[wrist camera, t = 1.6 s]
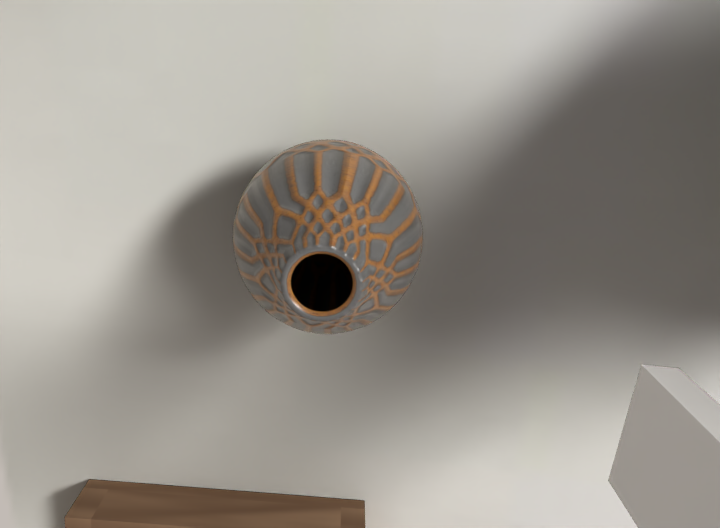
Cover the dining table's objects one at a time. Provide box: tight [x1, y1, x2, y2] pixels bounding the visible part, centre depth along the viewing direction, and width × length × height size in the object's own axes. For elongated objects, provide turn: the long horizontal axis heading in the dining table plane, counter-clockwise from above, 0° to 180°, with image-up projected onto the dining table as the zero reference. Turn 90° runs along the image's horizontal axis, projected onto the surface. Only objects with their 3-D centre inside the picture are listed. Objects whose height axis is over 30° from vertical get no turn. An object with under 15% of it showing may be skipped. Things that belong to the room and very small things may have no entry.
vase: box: [233, 140, 423, 334], centre depth 21 cm, size 7×7×9 cm
